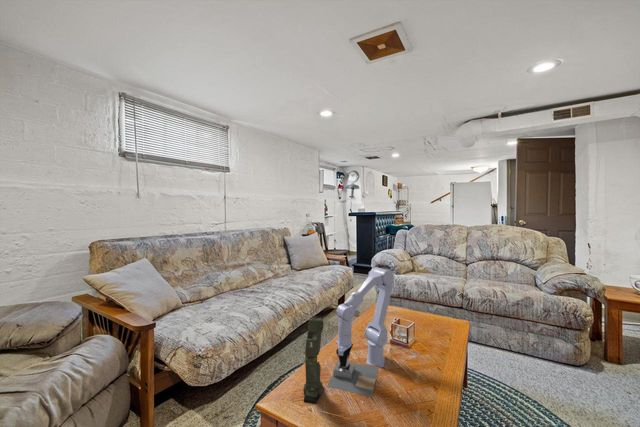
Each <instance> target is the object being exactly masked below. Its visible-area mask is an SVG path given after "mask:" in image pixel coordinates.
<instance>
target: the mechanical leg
mask: <svg viewBox="0 0 640 427" xmlns="http://www.w3.org/2000/svg"><path fill="white" fill-rule="evenodd" d="M323 320H324V318H322V317H320V316H316V315H315V316H314V315H312V316H311V317H309V319H308V327H307V337H306V339H305V340H306V341H305V349H304V350H305V351H304V353H305V354H304V355H305V358H304V365H305V366H304V367H305V383H304V385H303V394H304V397H303V403H308V404H314V405H315V404H317V403H318V400H319V399H320V397H322V396H323V395H322V394H323V382H322V380H321V372H322V371H321V368H322V366H321V364H320V361H318V355H319V353H320V351H321V341H322V333H323V330H324V324H325V323H324V321H323Z"/></svg>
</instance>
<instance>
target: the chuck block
mask: <svg viewBox="0 0 640 427" xmlns="http://www.w3.org/2000/svg"><path fill="white" fill-rule="evenodd" d="M355 364H356V362H353V361H349V366H348V370H345V369H341V365H340V360H339V359H338V360H337V361H336V363H335V365H334V367H333V369H332V375H333V377H338V378H342V379H347V380H352V378H353V375H354V372H355Z"/></svg>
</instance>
